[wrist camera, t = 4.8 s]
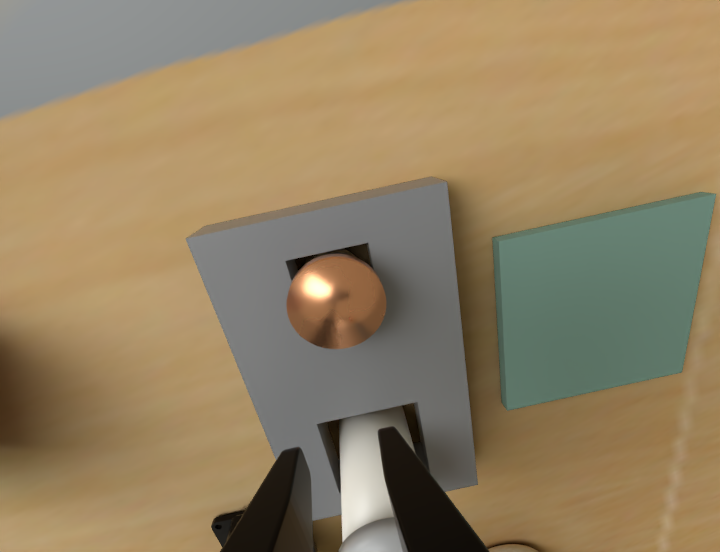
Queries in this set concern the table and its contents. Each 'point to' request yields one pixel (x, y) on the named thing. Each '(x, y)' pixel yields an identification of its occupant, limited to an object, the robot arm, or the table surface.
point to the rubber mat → (598, 299)
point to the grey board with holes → (363, 361)
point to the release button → (336, 300)
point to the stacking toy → (512, 548)
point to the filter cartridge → (367, 482)
